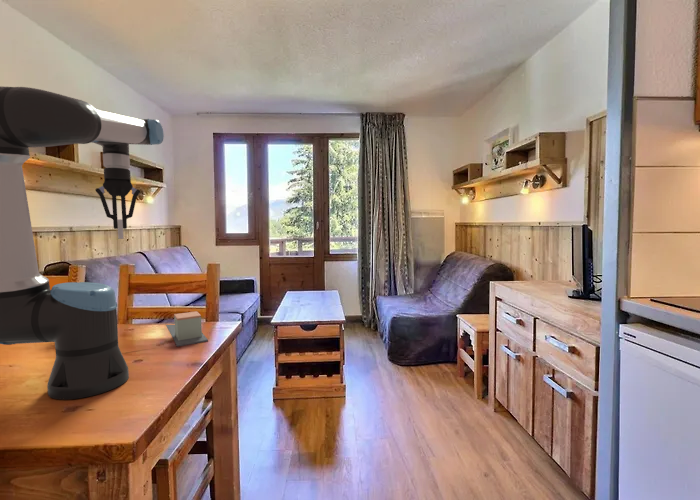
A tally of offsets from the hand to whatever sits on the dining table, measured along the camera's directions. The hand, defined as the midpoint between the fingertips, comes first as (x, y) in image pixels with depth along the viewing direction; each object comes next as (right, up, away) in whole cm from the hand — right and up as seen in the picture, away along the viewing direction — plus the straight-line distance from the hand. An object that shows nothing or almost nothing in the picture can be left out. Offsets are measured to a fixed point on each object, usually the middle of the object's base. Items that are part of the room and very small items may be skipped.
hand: (120, 238), depth 124 cm
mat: (+22, -32, 0) cm, 39 cm away
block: (+25, -25, -5) cm, 36 cm away
